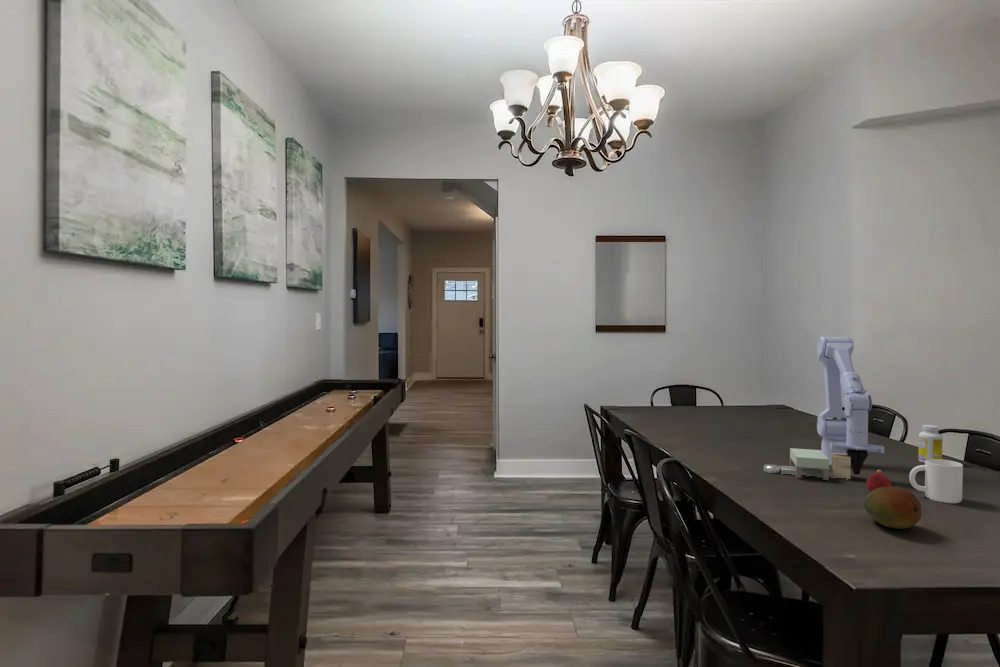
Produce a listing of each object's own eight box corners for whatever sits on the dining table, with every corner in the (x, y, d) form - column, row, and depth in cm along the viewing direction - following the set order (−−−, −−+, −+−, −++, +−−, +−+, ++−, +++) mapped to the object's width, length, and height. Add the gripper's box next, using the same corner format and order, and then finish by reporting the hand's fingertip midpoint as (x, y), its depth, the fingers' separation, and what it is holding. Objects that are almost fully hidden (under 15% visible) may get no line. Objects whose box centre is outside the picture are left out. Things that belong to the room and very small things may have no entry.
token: (762, 469, 192) (762, 463, 192) (779, 471, 190) (779, 465, 190) (764, 473, 187) (764, 467, 187) (781, 475, 186) (781, 468, 186)
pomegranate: (883, 502, 157) (883, 473, 157) (861, 496, 162) (862, 468, 162) (895, 499, 160) (895, 471, 160) (873, 493, 165) (874, 466, 165)
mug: (911, 499, 160) (911, 462, 160) (906, 491, 167) (907, 456, 167) (965, 505, 154) (966, 467, 154) (958, 497, 162) (959, 461, 161)
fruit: (901, 539, 132) (901, 496, 131) (848, 521, 143) (849, 481, 143) (932, 531, 136) (933, 489, 136) (879, 514, 148) (879, 476, 147)
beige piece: (779, 470, 190) (779, 449, 190) (846, 475, 184) (846, 453, 184) (781, 474, 186) (781, 452, 185) (850, 479, 179) (850, 457, 179)
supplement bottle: (943, 462, 200) (943, 425, 200) (940, 466, 195) (941, 428, 195) (919, 459, 205) (920, 423, 204) (916, 462, 200) (917, 426, 200)
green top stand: (789, 468, 193) (790, 448, 193) (819, 470, 190) (820, 450, 190) (796, 478, 181) (796, 457, 180) (828, 481, 178) (829, 459, 178)
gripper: (833, 431, 179) (833, 474, 180) (887, 434, 175) (887, 479, 175) (828, 427, 186) (828, 469, 186) (880, 430, 181) (880, 473, 182)
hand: (856, 473), depth 181 cm, fingers closed
